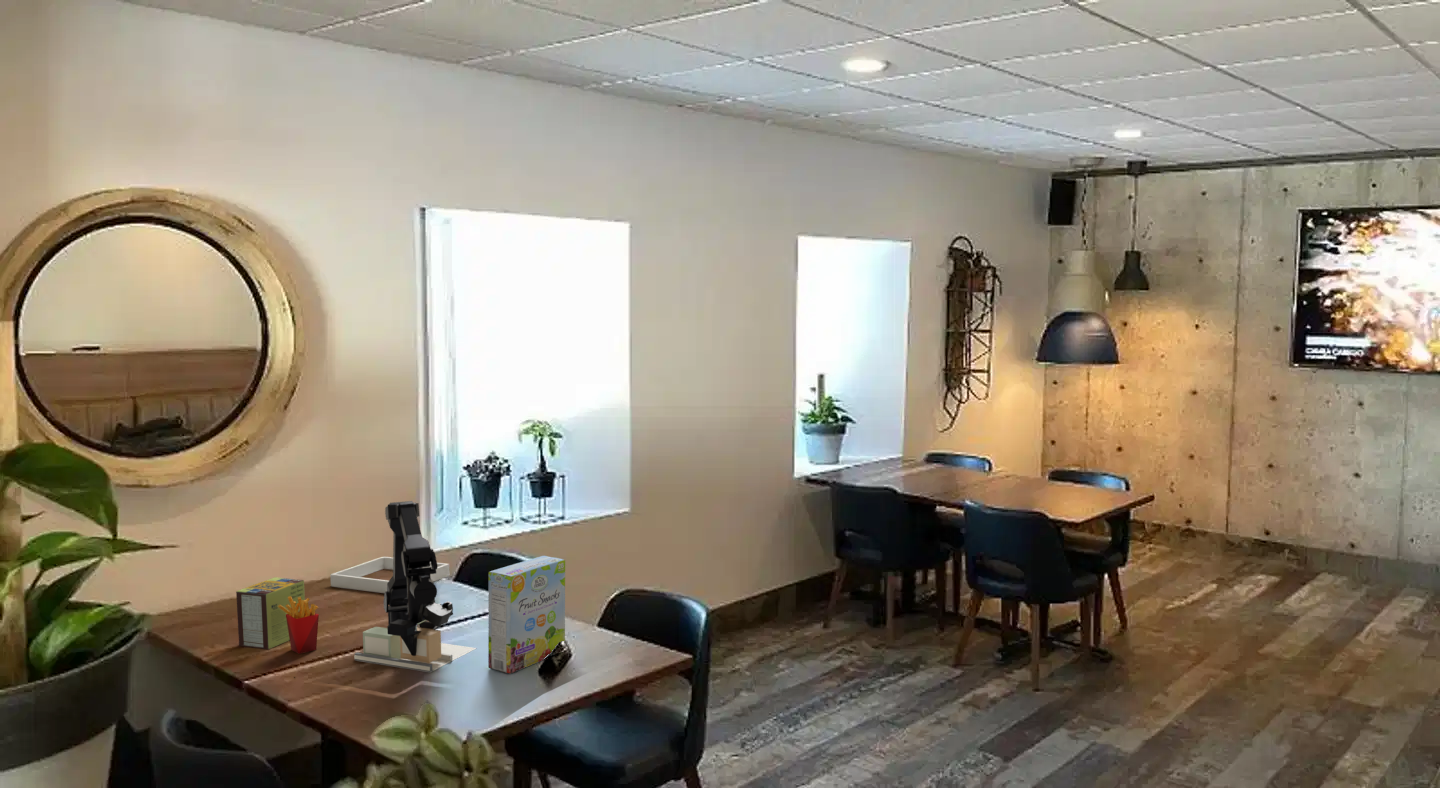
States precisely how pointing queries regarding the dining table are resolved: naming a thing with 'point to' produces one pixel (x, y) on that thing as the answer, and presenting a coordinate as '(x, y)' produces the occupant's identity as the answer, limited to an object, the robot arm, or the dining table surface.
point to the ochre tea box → (424, 646)
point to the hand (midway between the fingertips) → (420, 652)
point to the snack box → (525, 612)
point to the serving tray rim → (354, 579)
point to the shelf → (447, 656)
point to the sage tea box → (381, 643)
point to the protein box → (266, 611)
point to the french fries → (302, 625)
